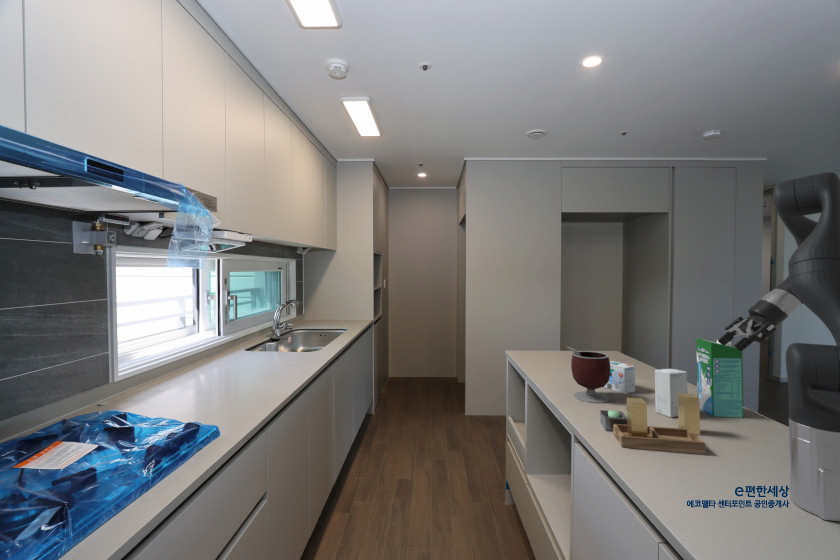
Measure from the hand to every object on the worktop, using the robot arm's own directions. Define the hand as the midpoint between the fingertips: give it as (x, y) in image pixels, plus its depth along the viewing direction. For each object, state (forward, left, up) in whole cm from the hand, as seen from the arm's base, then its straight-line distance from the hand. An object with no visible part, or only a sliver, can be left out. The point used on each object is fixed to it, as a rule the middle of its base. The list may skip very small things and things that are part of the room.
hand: (728, 345), depth 108 cm
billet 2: (-2, +12, -26) cm, 29 cm away
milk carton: (+17, -5, -26) cm, 32 cm away
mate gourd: (+25, +35, -26) cm, 50 cm away
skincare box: (+13, +11, -26) cm, 31 cm away
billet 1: (-12, +29, -26) cm, 41 cm away
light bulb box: (+38, +21, -26) cm, 51 cm away
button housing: (-3, +33, -26) cm, 42 cm away
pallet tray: (-12, +24, -26) cm, 38 cm away
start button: (-3, +33, -25) cm, 41 cm away
